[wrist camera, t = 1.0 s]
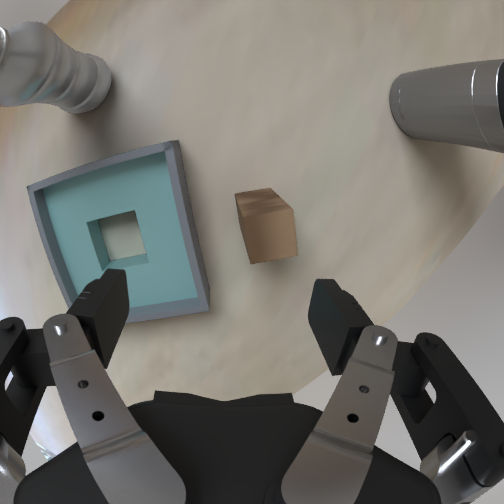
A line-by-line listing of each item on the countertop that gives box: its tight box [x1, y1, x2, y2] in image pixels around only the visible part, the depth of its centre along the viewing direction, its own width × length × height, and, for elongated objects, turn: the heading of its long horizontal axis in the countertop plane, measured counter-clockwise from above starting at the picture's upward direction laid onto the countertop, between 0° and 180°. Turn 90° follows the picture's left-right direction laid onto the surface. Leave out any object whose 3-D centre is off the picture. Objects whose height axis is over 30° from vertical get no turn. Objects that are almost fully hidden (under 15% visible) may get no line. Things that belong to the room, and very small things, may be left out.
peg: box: [235, 188, 298, 264], centre depth 28 cm, size 4×4×10 cm
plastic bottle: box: [0, 22, 111, 114], centre depth 15 cm, size 6×7×20 cm
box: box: [27, 140, 210, 323], centre depth 29 cm, size 17×18×5 cm
